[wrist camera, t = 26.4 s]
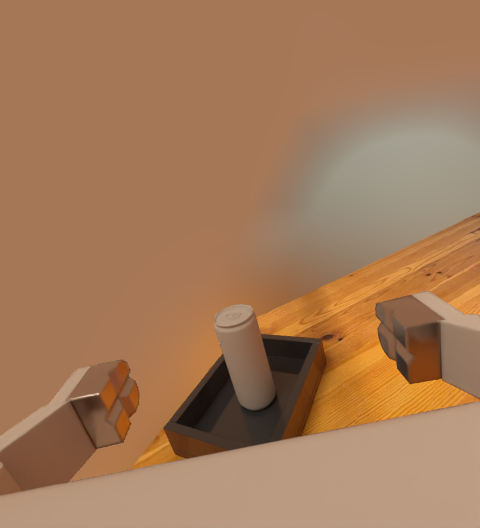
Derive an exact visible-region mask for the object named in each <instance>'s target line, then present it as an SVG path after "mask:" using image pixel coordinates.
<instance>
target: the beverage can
mask: <svg viewBox="0 0 480 528" xmlns="http://www.w3.org/2000/svg"><path fill="white" fill-rule="evenodd" d="M214 327H215V330H216V334H217V337H218V340H219V343H220V346H221V349H222V352H223V355H224V358H225V362H226V365H227V368H228V371H229V374H230V377H231V380H232V383H233V386H234V389H235V392H236V395H237V398H238V401H239V402H240V404H241V405H242V406H243V407H245V408H247V409H249V410H253V411H257V410H262V409H264V408H266V407H267V406H269V405H270V404H271V402H272V401H273V400H274V398H275V395H276V389H275V385H274V382H273V378H272V374H271V371H270V367H269V363H268V359H267V356H266V352H265V348H264V345H263V341H262V337H261V333H260V330H259V326H258V322H257V319H256V315H255V313H254V312H253V309H252V307H250V306H248V305H244V304H239V305H233V306H230V307H227V308H225V309H223V310H221V311H220V312H218V313H217V314H216V316H215V317H214Z"/></svg>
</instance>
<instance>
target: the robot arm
mask: <svg viewBox="0 0 480 528" xmlns="http://www.w3.org/2000/svg"><path fill="white" fill-rule="evenodd" d="M375 310H376V316H377V318H378V319H379V320H380V321H381V323H380V325H379V327H378V328H377V329H378V336H379V340H380V343H381V346H382V348H383V350H384V352H385V353H386V355H387V356H388V357H389V358H390V359H392V360H395V361H396V362H397V369H398V370H399V371H400V372H401V374H402V375H403V376H404V377H405V379H406V380H407V381H408V382H409V384H414V383H420V382H426V381H431V380H437V379H442V380H443V381H445V382H447V383H449V384H451V385H453V386H455V387H457V388H459V389H461V390H463V391H465V392H467V393H469V394H470V395H472V396H474V397H476V398H478V399H480V315H475V314H469V315H465V314H463V313H462V312H460V311H459V310H457V309H456V308H454V307H453V306H451V305H450V304H448V303H447V302H445V301H443V300H442V299H440V298H439V297H437V296H436V295H434V294H433V293H431V292H429V291H423V292H420V293H416V294H412V295H408V296H404V297H400V298H396V299H392V300H388V301H384V302H380V303H377V304H376V308H375ZM129 373H130V368H129V366H128V364H127V362H126V361H124V360H117V361H113V362H108V363H103V364H98V365H94V366H88V367H83V368H80V369H77V370H75V371H74V373H73V374H72V375H71V376H70V378H69V379H68V380H67V381H66V383H65V384H64V385H63V387H62V388H61V389H60V390H59V392H58V393H57V394H56V395H55V397H54V398H53V399H52V401H51V402H50V403H49V404H48V405H47V406H43V407H41V408H40V409H38V410H37V411H35V412H34V413H33V414H31V415H30V416H28V417H27V418H25V419H24V420H22V421H21V422H20V423H18V424H17V425H15V426H14V427H12V428H11V429H10V430H8V431H7V432H5V433H4V434H2V435H1V436H0V528H480V401H478V402H473V403H468V404H463V405H458V406H453V407H447V408H442V409H437V410H432V411H427V412H422V413H417V414H412V415H407V416H402V417H397V418H392V419H387V420H381V421H376V422H371V423H366V424H361V425H356V426H351V427H346V428H341V429H336V430H331V431H326V432H321V433H315V434H310V435H305V436H300V437H295V438H290V439H285V440H280V441H275V442H270V443H265V444H260V445H255V446H250V447H245V448H239V449H234V450H229V451H224V452H219V453H214V454H209V455H204V456H199V457H194V458H189V459H184V460H178V461H173V462H168V463H163V464H158V465H153V466H148V467H143V468H138V469H133V470H128V471H122V472H117V473H113V474H107V475H102V476H97V477H92V478H87V479H82V480H77V481H72V482H69V481H70V479H71V478H72V477H73V476H74V475H75V474H76V473H77V471H78V470H79V469H80V468H81V467H82V466H83V465H84V463H85V462H86V461H87V460H88V459H89V458H90V457H91V456H92V454H93V453H94V452H95V451H96V449H98V448H102V447H107V446H111V445H114V444H119V443H123V442H124V440H125V437H126V435H127V432H128V430H129V428H130V425H131V422H130V420H129V418H130V417H131V416H132V415H133V414H134V413H135V412H136V410H137V408H138V405H139V390H138V386H137V384H136V381H135V380H133V379H131V378H130V377H129Z"/></svg>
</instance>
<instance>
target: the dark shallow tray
mask: <svg viewBox="0 0 480 528" xmlns="http://www.w3.org/2000/svg"><path fill="white" fill-rule="evenodd" d="M261 337H262V341H263V345H264V348H265V352H266V356H267V359H268V363H269V367H270V371H271V374H272V378H273V382H274V385H275V389H276V395H275V398H274V400H273V401H272V402H271V404H270V405H269V406H267V407H266V408H264V409H262V410H257V411H253V410H249V409H247V408H245V407H243V406H242V405H241V404H240V402H239V401H238V398H237V395H236V392H235V389H234V386H233V383H232V380H231V377H230V374H229V371H228V368H227V365H226V362H225V358H224V355H223V354H222V355H221V356H220V357H219V359H218V360H217V361H216V362H215V364H214V365H213V366H212V368H211V369H210V370H209V371H208V373H207V374H206V375H205V376H204V378H203V379H202V380H201V381H200V383H199V384H198V385H197V386H196V388H195V389H194V390H193V391H192V393H191V394H190V395H189V396H188V398H187V399H186V400H185V401H184V403H183V404H182V405H181V406H180V408H179V409H178V410H177V411H176V413H175V414H174V415H173V416H172V418H171V419H170V420H169V422H168V423H167V424H166V425H165V427H164V430H165V433H166V435H167V437H168V440H169V442H170V444H171V446H172V449H173V451H174V453H175V454H176V455H179V456H181V457H184V458H187V459H189V458H194V457H199V456H204V455H209V454H214V453H219V452H224V451H229V450H234V449H239V448H245V447H250V446H255V445H260V444H265V443H270V442H275V441H280V440H285V439H290V438H295V437H300V436H301V435H302V432H303V429H304V426H305V423H306V420H307V417H308V414H309V411H310V409H311V406H312V403H313V400H314V397H315V394H316V391H317V388H318V385H319V382H320V380H321V377H322V374H323V371H324V368H325V365H326V358H325V353H324V348H323V343H322V339H318V338H305V337H292V336H280V335H267V334H261Z"/></svg>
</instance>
